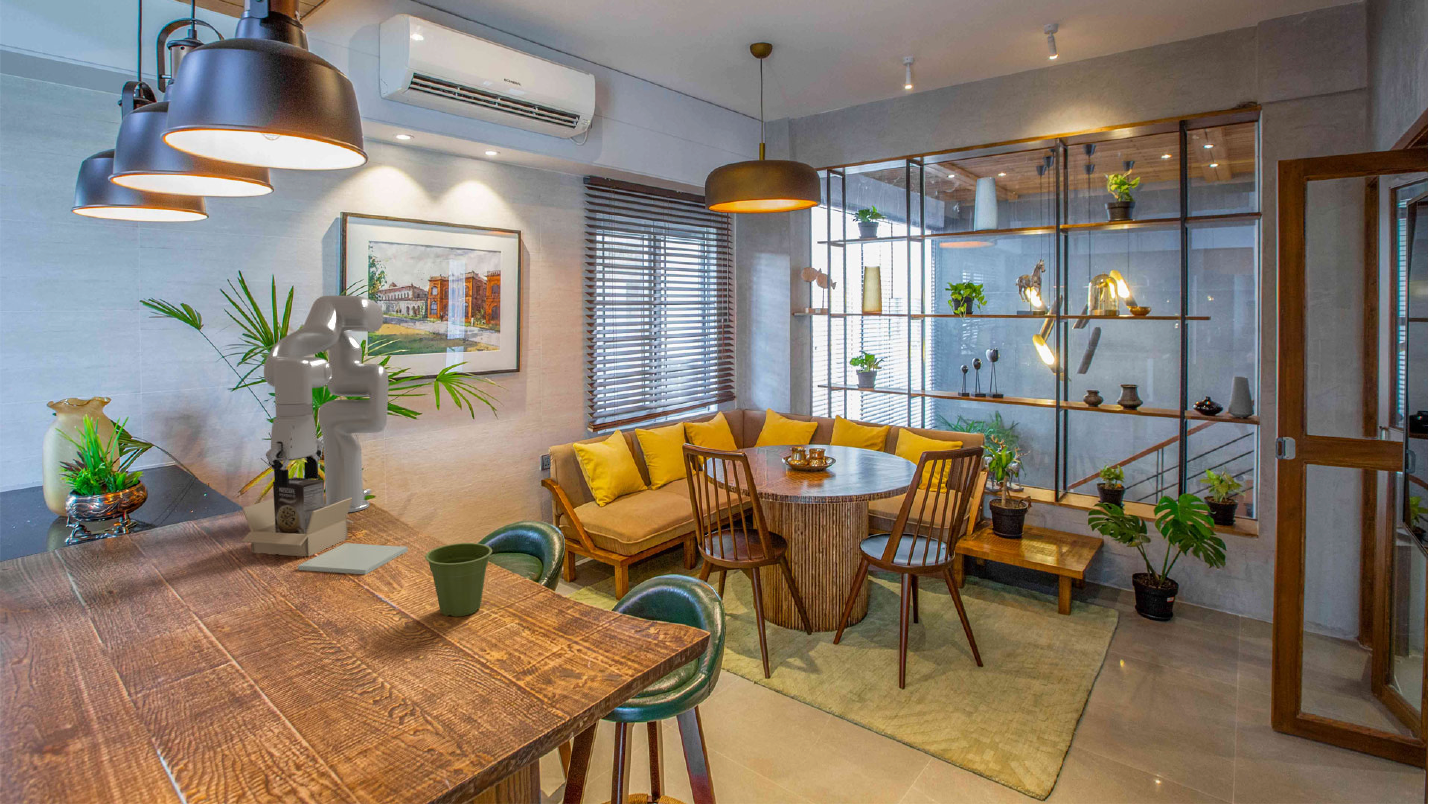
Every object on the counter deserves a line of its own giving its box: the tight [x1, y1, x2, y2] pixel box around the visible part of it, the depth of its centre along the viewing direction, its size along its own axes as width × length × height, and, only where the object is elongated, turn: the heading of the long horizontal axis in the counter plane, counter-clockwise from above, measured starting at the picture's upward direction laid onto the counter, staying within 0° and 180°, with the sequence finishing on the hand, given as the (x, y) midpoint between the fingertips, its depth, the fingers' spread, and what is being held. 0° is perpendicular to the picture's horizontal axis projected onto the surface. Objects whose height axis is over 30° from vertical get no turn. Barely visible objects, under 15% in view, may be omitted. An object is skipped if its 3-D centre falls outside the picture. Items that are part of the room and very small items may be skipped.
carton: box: [241, 497, 354, 557], centre depth 167 cm, size 19×18×11 cm
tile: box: [297, 542, 409, 576], centre depth 158 cm, size 16×16×1 cm
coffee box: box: [272, 476, 325, 534], centre depth 167 cm, size 9×6×16 cm
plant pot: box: [424, 542, 493, 618], centre depth 131 cm, size 12×12×11 cm
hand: (297, 482), depth 166 cm, fingers open, 9 cm apart
